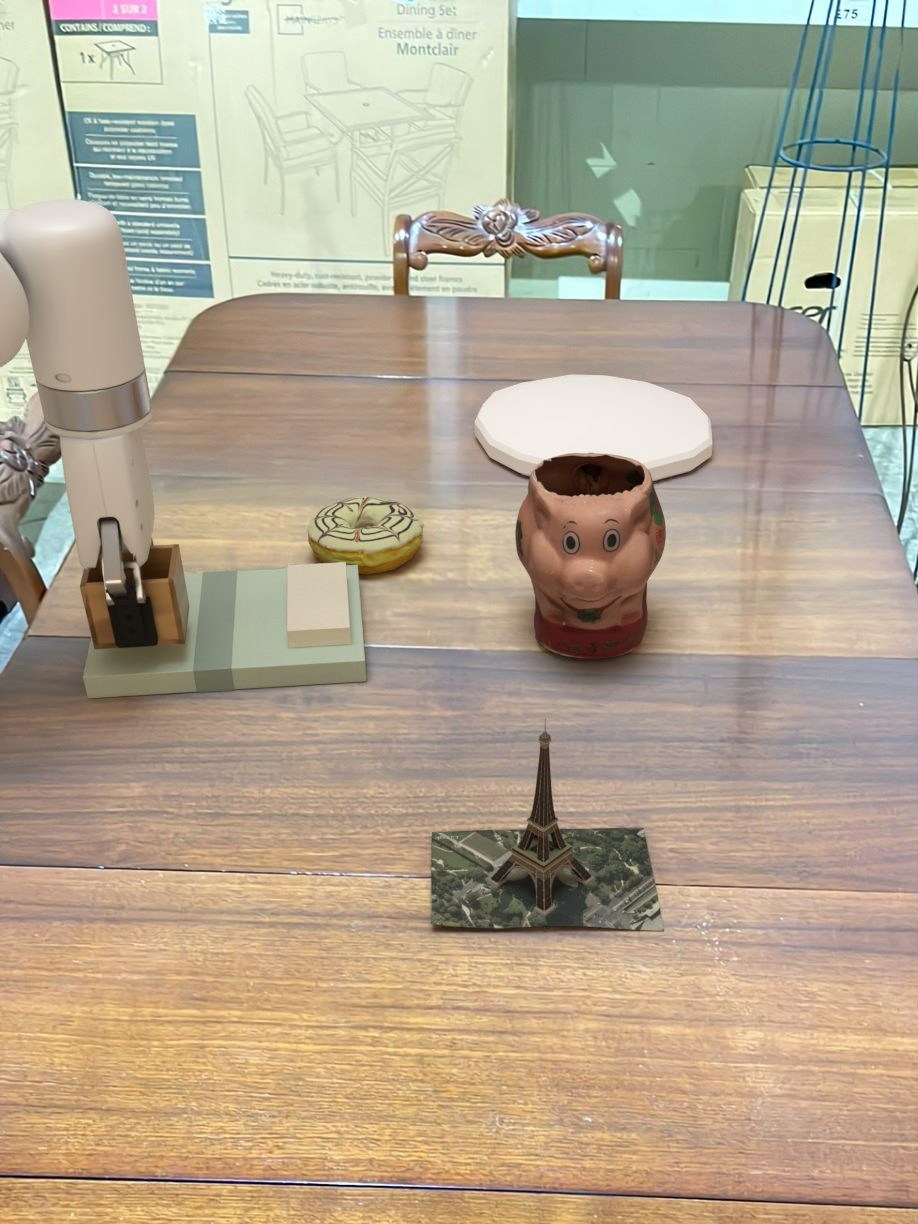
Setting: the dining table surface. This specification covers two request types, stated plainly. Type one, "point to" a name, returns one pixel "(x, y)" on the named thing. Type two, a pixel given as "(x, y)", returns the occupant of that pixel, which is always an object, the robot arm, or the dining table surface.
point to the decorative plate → (594, 423)
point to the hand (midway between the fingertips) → (141, 620)
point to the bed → (248, 636)
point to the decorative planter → (590, 551)
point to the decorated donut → (366, 534)
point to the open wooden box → (159, 584)
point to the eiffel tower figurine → (543, 873)
